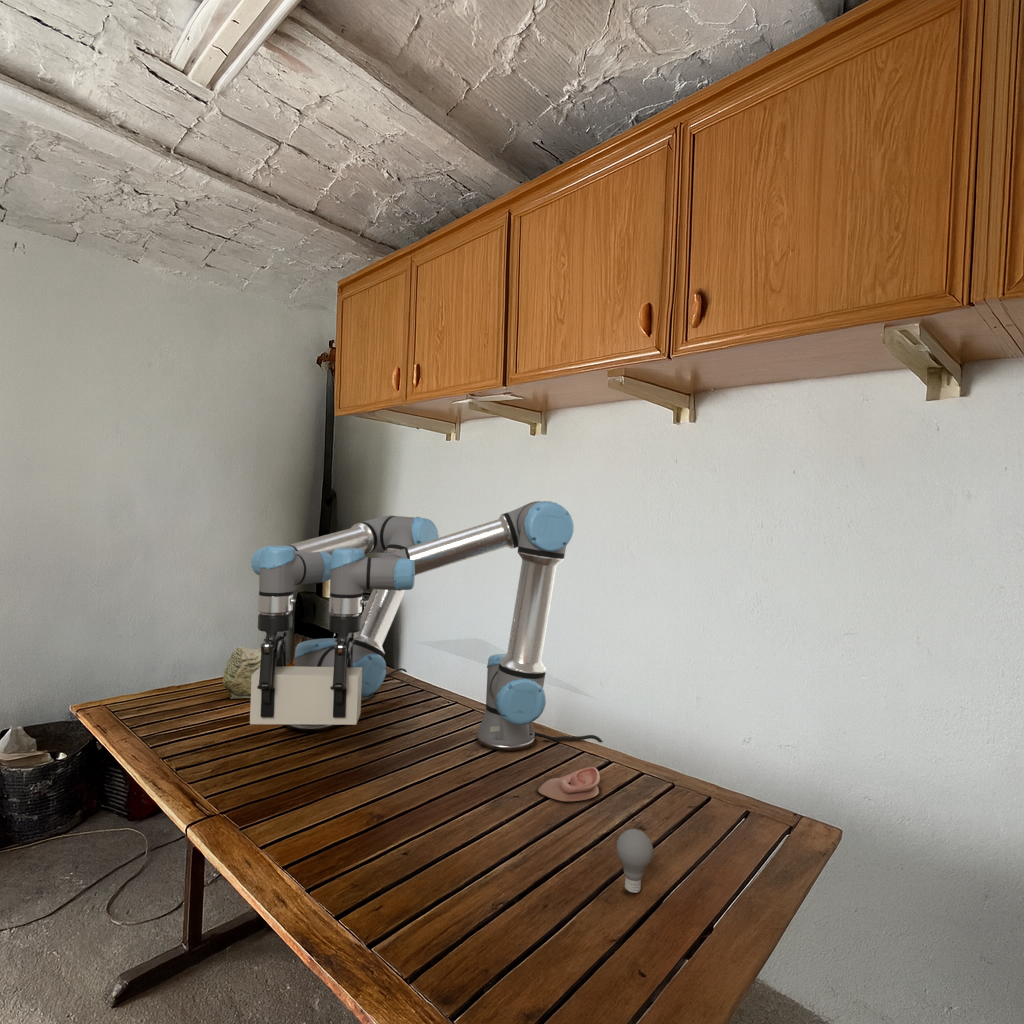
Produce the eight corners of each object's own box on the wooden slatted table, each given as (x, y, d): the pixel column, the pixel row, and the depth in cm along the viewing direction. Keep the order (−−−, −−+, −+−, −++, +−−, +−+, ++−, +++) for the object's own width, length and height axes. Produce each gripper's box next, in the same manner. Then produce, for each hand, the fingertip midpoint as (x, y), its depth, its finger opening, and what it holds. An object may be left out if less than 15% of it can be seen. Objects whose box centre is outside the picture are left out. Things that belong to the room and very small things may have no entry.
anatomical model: (536, 779, 137) (544, 758, 148) (535, 797, 137) (543, 775, 148) (598, 787, 134) (601, 766, 146) (597, 806, 134) (600, 783, 146)
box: (249, 724, 143) (251, 674, 143) (259, 713, 151) (260, 666, 150) (356, 724, 146) (358, 676, 146) (360, 713, 153) (362, 667, 153)
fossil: (218, 695, 195) (220, 647, 195) (278, 685, 208) (279, 640, 207) (228, 703, 189) (230, 653, 188) (289, 692, 201) (290, 645, 201)
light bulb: (610, 879, 108) (613, 822, 108) (644, 879, 109) (647, 822, 109) (619, 902, 102) (622, 840, 102) (655, 901, 103) (658, 840, 103)
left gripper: (281, 621, 137) (277, 726, 138) (301, 605, 157) (298, 696, 158) (245, 620, 136) (241, 726, 137) (270, 604, 157) (267, 696, 157)
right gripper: (356, 623, 139) (352, 726, 139) (367, 607, 159) (363, 697, 160) (321, 622, 138) (317, 726, 138) (336, 606, 158) (333, 697, 159)
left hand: (272, 710), depth 147 cm, fingers closed on box, 7 cm apart
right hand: (341, 710), depth 149 cm, fingers closed on box, 7 cm apart
